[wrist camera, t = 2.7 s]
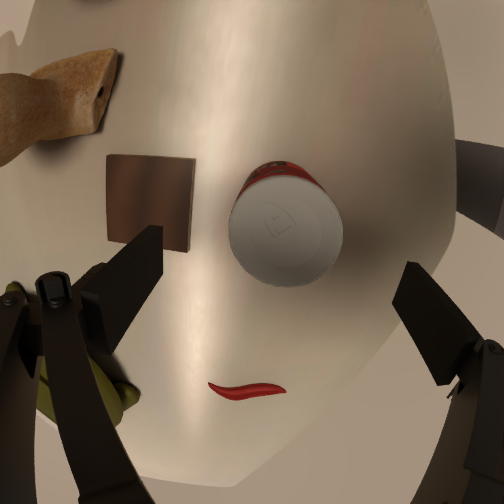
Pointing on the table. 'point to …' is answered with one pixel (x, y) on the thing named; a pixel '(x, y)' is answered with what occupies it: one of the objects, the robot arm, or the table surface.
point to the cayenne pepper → (247, 391)
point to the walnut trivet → (149, 197)
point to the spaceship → (113, 396)
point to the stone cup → (54, 101)
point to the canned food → (284, 226)
